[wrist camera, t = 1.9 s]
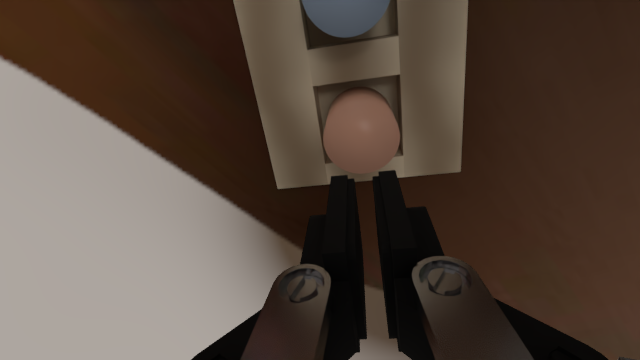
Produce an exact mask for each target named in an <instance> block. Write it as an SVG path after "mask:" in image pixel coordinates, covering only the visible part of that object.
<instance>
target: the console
mask: <svg viewBox="0 0 640 360" xmlns="http://www.w3.org/2000/svg"><path fill="white" fill-rule="evenodd" d="M233 1H234V6H235V10H236V14H237V18H238V23H239V27H240V31H241V35H242V40H243V44H244V48H245V52H246V57H247V61H248V65H249V69H250V74H251V78H252V82H253V86H254V91H255V95H256V99H257V103H258V108H259V112H260V116H261V120H262V125H263V129H264V133H265V137H266V142H267V146H268V150H269V154H270V159H271V163H272V167H273V171H274V176H275V180H276V184H277V188H278V189H284V188H295V187H306V186H316V185H327V184H330V181H331V176H339V175H348V179H352V178H354V180H355V182H358V181H369V180H373V179H372V177H373V176H379V174H378V172H379V171H390V170H395V171H396V174H397V178H401V177H411V176H422V175H432V174H443V173H454V172H461V154H462V131H463V108H464V85H465V62H466V39H467V16H468V0H390V2H389V5H388V7H387V9H386V11H385V13H384V14H383V16H382V18H381V19H380V20H379V21H378V22H377V23H376V24H375V25H374V26H373V27H372V28H371V29H369V30H368V31H366V32H364V33H362V34H360V35H357V36H354V37H346V38H343V37H336V36H332V35H329V34H327V33H325V32H323V31H322V30H321V29H319V28H318V27H317V26H316V25H315V24H314V23H313V22H312V21H311V20H310V18H309V16H308V15H307V13H306V11H305V9H304V6H303V3H302V0H233ZM353 87H369V88H372V89H374V90H376V91H378V92H380V93H381V94H382V95H383V96H384V97H385V98H386V99H387V101H388V103H389V105H390V107H391V110H392V112H393V114H394V117H395V119H396V122H397V124H398V127H399V131H400V142H399V146H398V150H397V152H396V154H395V155H394V157H393V158H392V159H391V161H390V162H389V163H388V164H387V165H385V166H384V167H382V168H381V169H379V170H376V171H374V172H370V173H365V174H357V173H351V172H347V171H345V170H343V169H341V168H339V167H338V166H337V165H335V164H334V163H333V162H332V161H331V159H330V158H329V157H328V155H327V153H326V151H325V148H324V142H323V134H324V129H325V125H326V120H327V116H328V111H329V108H330V106H331V104H332V102H333V101H334V99H335V98H336V97H337V96H338V95H339V94H340V93H342V92H343V91H345V90H347V89H350V88H353Z"/></svg>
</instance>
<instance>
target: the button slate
mask: <svg viewBox="0 0 640 360" xmlns="http://www.w3.org/2000/svg"><path fill="white" fill-rule="evenodd" d="M389 2H390V0H302V3H303V6H304V9H305V11H306V13H307V15H308V16H309V18H310V20H311V21H312V22H313V23H314V24H315V25H316V26H317V27H318V28H319V29H321V30H322V31H323V32H325V33H327V34H329V35H332V36H336V37H343V38H346V37H354V36H357V35H360V34H362V33H364V32H366V31H368V30H369V29H371V28H372V27H373V26H374V25H375V24H376V23H377V22H378V21H379V20H380V19H381V18H382V16H383V14H384V13H385V11H386V9H387V7H388V5H389Z"/></svg>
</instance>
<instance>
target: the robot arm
mask: <svg viewBox="0 0 640 360" xmlns="http://www.w3.org/2000/svg"><path fill="white" fill-rule="evenodd" d="M378 174H379V176H373V177H372V179H373V190H374V201H375V213H376V224H377V235H378V246H379V255H380V264H381V273H382V281H383V290H384V298H385V306H386V315H387V324H388V333H389V338H390V339H391V338H397V342H398V349H399V351H400V352H403V353H404V354H406V355H407V356H408V357H410V358H411V359H412V360H608V359H607V358H606V357H605V356H604V355H602V354H601V353H599V352H598V351H596V350H595V349H593V348H591V347H590V346H588V345H586V344H584V343H582V342H580V341H578V340H576V339H574V338H572V337H570V336H568V335H566V334H564V333H562V332H560V331H558V330H556V329H554V328H552V327H550V326H548V325H546V324H544V323H542V322H540V321H538V320H536V319H534V318H533V317H531V316H529V315H527V314H525V313H523V312H521V311H519V310H517V309H515V308H513V307H511V306H509V305H507V304H505V303H503V302H501V301H499V300H497V299H495V298H493V296H492V295H491V293H490V292H489V290H488V289H487V287H486V286H485V284H484V283H483V281H482V280H481V278H480V277H479V275H478V274H477V272H476V271H475V270H474V269H473V268H472V267H471V266H470V265H468V264H467V263H465V262H464V261H462V260H459V259H456V258H453V257H447V256H444V253H443V251H442V248H441V246H440V243H439V240H438V238H437V235H436V232H435V230H434V227H433V225H432V222H431V219H430V217H429V214H428V212H427V209H426V207H411V208H406V206H405V203H404V199H403V195H402V192H401V188H400V185H399V181H398V178H397V174H396V171H395V170H390V171H379V172H378ZM360 339H367V332H366V310H365V290H364V268H363V250H362V240H361V231H360V223H359V214H358V206H357V197H356V188H355V180H354V178H352V179H348V175H339V176H331V181H330V189H329V197H328V205H327V213H326V214H325V215H313V216H310V218H309V222H308V227H307V232H306V237H305V242H304V247H303V252H302V258H301V262H300V265H297V266H293V267H291V268H289V269H287V270H285V271H284V272H282V273H281V274H280V275H279V276H278V277H277V278H276V280H275V281H274V283H273V285H272V288H271V290H270V292H269V295H268V297H267V299H266V301H265V304H264V306H263V308H262V309H261V310H260V311H258V312H257V313H256V314H254V315H253V316H251V317H250V318H248V319H247V320H246V321H244V322H243V323H241V324H240V325H238V326H237V327H236V328H234V329H233V330H231V331H230V332H229V333H227V334H226V335H224V336H223V337H222V338H220V339H219V340H217V341H216V342H214V343H213V344H211V345H210V346H209V347H207V348H206V349H205V350H203V351H201V352H200V353H199V354H197V355H196V356H195V357H194V358H193V359H192V360H348V359H350V358H351V357H352V356H353V355H354V354H355V353H356V352H360V342H359V341H360ZM618 360H635V359H630V358H624V357H619V359H618Z"/></svg>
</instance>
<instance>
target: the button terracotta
mask: <svg viewBox="0 0 640 360" xmlns="http://www.w3.org/2000/svg"><path fill="white" fill-rule="evenodd" d="M323 142H324V148H325V151H326V153H327V155H328V157H329V158H330V159H331V161H332V162H333V163H334V164H335V165H337V166H338V167H339V168H341V169H343V170H345V171H347V172H351V173H357V174H365V173H370V172H374V171H376V170H379V169H381V168H382V167H384V166H385V165H387V164H388V163H389V162H390V161H391V159H392V158H393V157H394V155H395V154H396V152H397V150H398V146H399V142H400V131H399V127H398V124H397V122H396V119H395V117H394V114H393V112H392V110H391V107H390V105H389V103H388V101H387V99H386V98H385V97H384V96H383V95H382V94H381V93H380V92H378V91H376V90H374V89H372V88H369V87H353V88H350V89H347V90H345V91H343V92H342V93H340V94H339V95H338V96H337V97H336V98H335V99H334V101H333V102H332V104H331V106H330V108H329V111H328V116H327V120H326V125H325V129H324V134H323Z"/></svg>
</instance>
